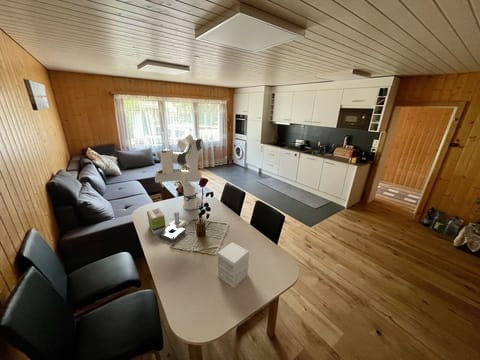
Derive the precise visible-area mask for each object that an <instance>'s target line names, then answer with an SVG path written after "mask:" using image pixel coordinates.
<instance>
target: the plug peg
mask: <svg viewBox="0 0 480 360" xmlns="http://www.w3.org/2000/svg"><path fill="white" fill-rule="evenodd" d="M173 216H174V220H175V224H177V225H178V224H179V223H180V222H179V219H180V212H179V211H175V212H173Z"/></svg>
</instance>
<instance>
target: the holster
mask: <svg viewBox="0 0 480 360" xmlns="http://www.w3.org/2000/svg"><path fill="white" fill-rule="evenodd" d="M179 222H180V223H179V224H178V225H177V224H175V219H174V220H172V221H170V222H169V223H168V227H169V226H170V225H174V226H177V227H181V228H183V227H184V226H186V225H187V221H186V220H183V219H180V218H179Z"/></svg>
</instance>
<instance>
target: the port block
mask: <svg viewBox="0 0 480 360" xmlns="http://www.w3.org/2000/svg"><path fill="white" fill-rule="evenodd" d="M185 234H186V228H183V227H182V228H181V227H177V226H174V225H170V226H169V225H168V227H166V229H165V230H163V231H162V232H160V233H158V238H159V239H160V240H163V241H167V242H169V243H171V244H174V243H176V242H177V241H178V240H179V239H180V238H181V237H184V235H185Z"/></svg>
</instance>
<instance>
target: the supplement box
mask: <svg viewBox="0 0 480 360" xmlns="http://www.w3.org/2000/svg"><path fill="white" fill-rule="evenodd" d="M249 255H250V251H249V250H248V249H246V248H245V247H244V248H243V247H242V246H240V245H239V244H237V243H235V242H233V241H231V243H228V244H227V245H226V246H224V247H223V248H221V249H220V250H219V251H218V252H217V277H218V278H219V279H221V280H222V281H224V282H225V283H226V284H227V285H229V286H230V287H231V288H233V289H235V288H236V287H237V286H238V285H239V284H240V283H241V282H242V281H243V280H244V279H245V278H246V277H247V276H248V275H249V257H250V256H249Z"/></svg>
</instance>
